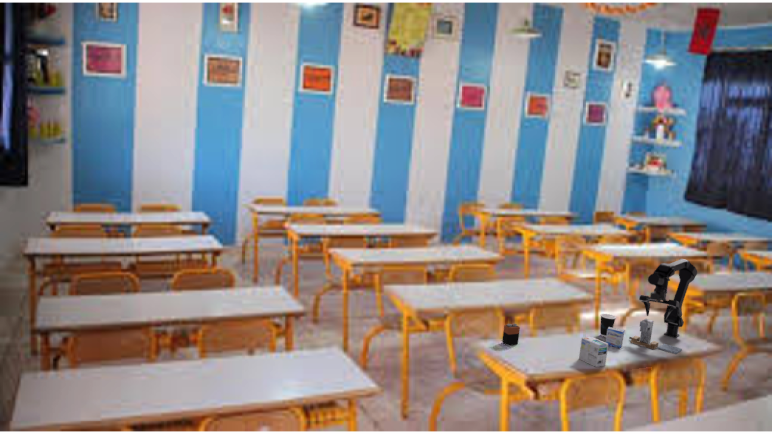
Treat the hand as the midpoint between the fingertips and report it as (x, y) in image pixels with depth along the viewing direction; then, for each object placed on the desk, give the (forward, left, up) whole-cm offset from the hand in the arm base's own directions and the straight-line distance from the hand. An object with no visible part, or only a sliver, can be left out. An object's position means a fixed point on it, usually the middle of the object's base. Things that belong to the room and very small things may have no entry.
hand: (656, 317), depth 339 cm
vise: (+6, -3, -14) cm, 16 cm away
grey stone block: (+7, -2, -14) cm, 16 cm away
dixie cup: (+10, -21, -14) cm, 28 cm away
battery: (+65, -47, -14) cm, 82 cm away
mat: (+1, +9, -14) cm, 17 cm away
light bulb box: (+54, -9, -14) cm, 57 cm away
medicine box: (+21, -12, -14) cm, 28 cm away
